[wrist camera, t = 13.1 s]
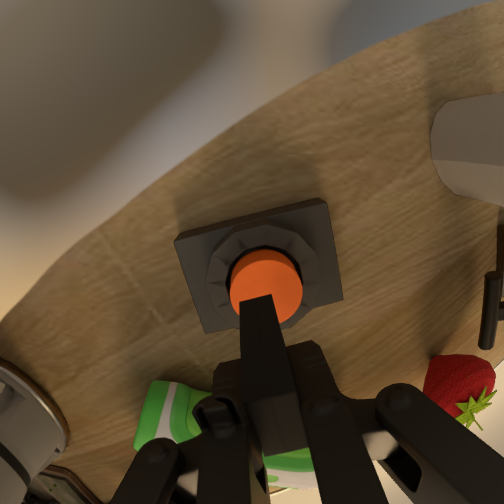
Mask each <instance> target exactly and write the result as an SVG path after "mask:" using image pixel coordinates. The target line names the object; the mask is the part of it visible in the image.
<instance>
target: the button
mask: <svg viewBox="0 0 504 504" xmlns="http://www.w3.org/2000/svg"><path fill="white" fill-rule="evenodd" d="M268 294H272V297H273V301H274V305H275V309H276V313H277V316H278V320H279V323H281V322H283V321H285V320H287V319H288V318H289V317H291V316H292V315H293V314H294V313H295V311H296V310H297V308H298V307H299V305H300V303H301V299H302V294H303V289H302V284H301V280H300V278H299V276H298V274H297V272H296V270H295V268H294V265H293V264H292V262H291V261H290V260H289V259H288V258H287V257H286V256H285V255H283V254H282V253H279V252H277V251H274V250H269V249H260V250H256V251H252V252H250V253H248V254H246V255H245V256H243V257H242V258H241V259H240V260H239V261H238V262H237V264H236V265H235V267H234V269H233V272H232V275H231V285H230V300H231V304H232V306H233V308H234V310H235V311H236V313H237V314H238V315H239V302H240V301H244V300H248V299H252V298H256V297H260V296H264V295H268Z"/></svg>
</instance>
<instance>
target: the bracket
mask: <svg viewBox="0 0 504 504" xmlns="http://www.w3.org/2000/svg"><path fill="white" fill-rule="evenodd" d="M496 271H497V272H500V273H501V274H502V275H503V281H502V292H501V297H504V225H501V226H498V227H497V270H496Z"/></svg>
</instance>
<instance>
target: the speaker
mask: <svg viewBox="0 0 504 504" xmlns="http://www.w3.org/2000/svg"><path fill="white" fill-rule="evenodd" d="M210 395H212V393H211V392H205V391H199V390H195V389H192V388H190V387H188V386H187V385H185V384H182V383H176V382H169V381H158V380H155V381H152V383H151V385H150V388H149V391H148V394H147V397H146V400H145V403H144V406H143V409H142V413H141V416H140V419H139V422H138V426H137V430H136V433H135V438H134V442H133V447H134V449H135V450H137V451H139V450H140V448H141V447H142V446H143V445H144V444H145V443H147V442H148V441H150V440H152V439H155V438H161V437H166V438H169V439H172V440H173V441H174V442H175V443H177V444H178V443H181V442H184V441H186V440H189V439H192V438H194V437H196V436H197V435H199V434H200V433H202V431H201V429H200V428H199V426H198V424H197V422H196V420H195V419H194V417H193V415H192V410H193V408H194V406H195V405H196V404H197V403H198V402H199V401H200V400H201V399H203V398H205V397H207V396H210ZM262 456H263V462H264V465H265V467H266V470H267V477H268V486H273V487H282V488H292V489H317V488H318V484H317V480H316V476H315V471H314V467H313V463H312V459H311V455H310V450H309V447H308V448H304V449H300V450H296V451H291V452H287V453H282V454H278V455H273V456H268V457H264V454H263V452H262Z"/></svg>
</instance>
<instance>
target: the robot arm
mask: <svg viewBox="0 0 504 504" xmlns="http://www.w3.org/2000/svg"><path fill="white" fill-rule="evenodd" d="M239 320H240V352H241V359H236V360H231V361H227V362H222V363H219V365H218V366H217V368H216V369H215V371H214V373H213V385H212V390H213V391H212V395H210V396H207V397H205V398H203V399H201V400H200V401H199V402H198V403H197V404H196V405H195V406H194V408H193V410H192V415H193V417H194V419H195V420H196V422H197V424H198V426H199V428H200V429H201V431H202V433H200V434H199V435H197V436H196V437H194V438H192V439H189V440H186V441H184V442H181V443H178V444H177V443H175V442H174V441H173V440H172V439H169V438H166V437H161V438H155V439H152V440H150V441H148V442H147V443H145V444H144V445H143V446H142V447H141V448H140V450H139V451H138V453H137V455H136V456H135V458H134V460H133V462H132V464H131V465H130V467H129V469H128V471H127V473H126V474H125V476H124V478H123V480H122V482H121V483H120V485H119V487H118V489H117V491H116V492H115V494H114V496H113V498H112V500H111V501H110V503H109V504H271V503H270V495H269V486H268V477H267V470H266V467H265V465H264V462H263V456H262V452H263V454H264V457H268V456H273V455H278V454H282V453H287V452H291V451H296V450H300V449H304V448H308V447H309V450H310V455H311V459H312V463H313V467H314V471H315V476H316V480H317V484H318V488H319V493H320V497H321V501H322V504H389V503H388V500H387V498H386V495H385V492H384V490H383V487H382V485H381V482H380V480H379V477H378V475H377V473H376V470H375V468H374V465H373V463H372V460H377V461H378V463H379V464H380V465H381V466H382V467H383V469H384V470H385V471H386V472H387V473H388V474H389V476H390V477H391V478H392V479H393V480H394V481H395V483H396V484H397V485H398V486H399V487H400V488H401V490H402V491H403V492H404V493H405V494H406V495H407V496H408V498H410V500H411V501H412V502H413V503H414V504H504V457H502V456H501V455H500V454H499V453H497V452H496V451H495V450H494V449H492V448H491V447H490V446H489V445H487V444H486V443H485V442H484V441H482V440H481V439H479V437H477V436H476V435H475V434H473V433H472V432H471V431H470V430H469V429H467V428H466V427H465V426H464V425H462V424H461V423H460V422H459V421H457V420H456V419H455V418H454V417H452V416H451V415H450V414H449V413H447V412H446V411H445V410H444V409H442V408H441V407H440V406H439V405H438V404H436V403H435V402H434V401H433V400H431V399H430V398H429V397H428V396H426V395H425V394H424V393H423V392H421V391H420V390H419V389H418V388H416V387H414V386H412V385H410V384H405V383H397V384H392V385H389V386H387V387H385V388H384V389H382V390H381V391H380V392H379V393H378V395H377V397H376V398H374V399H352V398H349V397H346V396H344V395H343V394H342V393H341V392H340V391H339V389H338V387H337V385H336V383H335V380H334V378H333V376H332V373H331V371H330V368H329V366H328V364H327V361H326V359H325V357H324V354H323V352H322V350H321V347H320V346H319V345H318V344H316V343H315V342H313V341H312V340H309V341H306V342H302V343H298V344H295V345H291V346H287V347H285V343H284V339H283V336H282V332H281V328H280V324H279V320H278V316H277V313H276V309H275V305H274V301H273V297H272V294H268V295H264V296H260V297H256V298H252V299H248V300H244V301H240V302H239ZM69 438H70V433H69V428H68V425H67V423H66V421H65V419H64V417H63V415H62V413H61V412H60V410H59V409H58V408H57V406H56V405H55V403H54V402H53V401H52V400H51V399H50V397H49V396H48V395H47V394H46V393H45V392H44V391H43V390H42V389H41V388H40V387H39V386H38V385H37V384H36V383H35V382H34V381H33V380H32V379H31V378H29V377H28V376H27V375H26V374H24V373H23V372H22V371H20V370H19V369H18V368H16V367H15V366H13V365H11V364H10V363H8V362H6V361H4V360H2V359H0V504H21V503H22V500H23V498H24V496H25V494H26V491H27V489H28V487H29V485H30V483H31V481H32V479H33V478H34V477H35V476H36V475H37V474H38V473H39V472H41V471H42V470H43V469H44V468H46V467H47V466H48V465H49V464H50V463H52V462H53V461H54V460H55V459H56V458H58V457H59V456H60V455H61V454H62V453H63V452H64V450H65V448H66V446H67V444H68V442H69Z"/></svg>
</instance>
